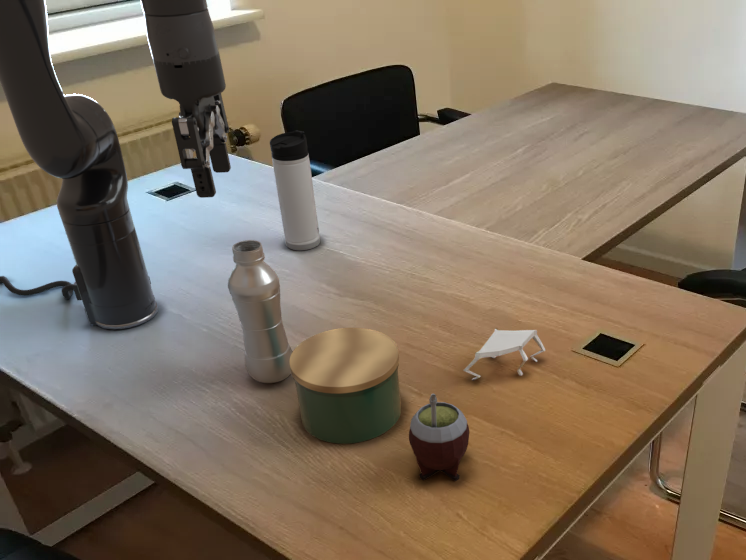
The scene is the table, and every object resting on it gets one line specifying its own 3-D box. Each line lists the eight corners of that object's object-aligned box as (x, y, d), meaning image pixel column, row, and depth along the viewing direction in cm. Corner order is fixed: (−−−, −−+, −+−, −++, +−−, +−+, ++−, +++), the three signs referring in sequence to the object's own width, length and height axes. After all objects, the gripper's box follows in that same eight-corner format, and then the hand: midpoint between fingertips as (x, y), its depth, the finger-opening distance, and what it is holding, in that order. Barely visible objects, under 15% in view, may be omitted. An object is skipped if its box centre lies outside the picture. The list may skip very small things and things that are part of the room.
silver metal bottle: (285, 391, 110) (260, 259, 99) (239, 386, 111) (210, 254, 100) (304, 365, 115) (282, 237, 104) (260, 360, 116) (234, 233, 105)
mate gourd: (444, 441, 102) (439, 340, 93) (486, 471, 97) (485, 368, 88) (397, 467, 97) (387, 365, 89) (438, 501, 93) (432, 396, 84)
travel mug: (328, 240, 149) (315, 133, 138) (303, 253, 145) (287, 144, 133) (304, 232, 152) (288, 127, 141) (278, 245, 148) (260, 137, 136)
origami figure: (502, 342, 121) (502, 314, 118) (547, 361, 116) (549, 332, 114) (449, 378, 113) (448, 348, 110) (496, 400, 109) (495, 370, 106)
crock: (291, 446, 101) (280, 388, 95) (307, 383, 112) (298, 328, 107) (400, 443, 101) (395, 385, 96) (405, 381, 112) (401, 326, 107)
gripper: (170, 39, 100) (199, 165, 110) (133, 68, 89) (170, 206, 98) (230, 37, 101) (255, 163, 110) (202, 66, 89) (232, 204, 98)
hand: (215, 183), depth 104 cm, fingers open, 8 cm apart
